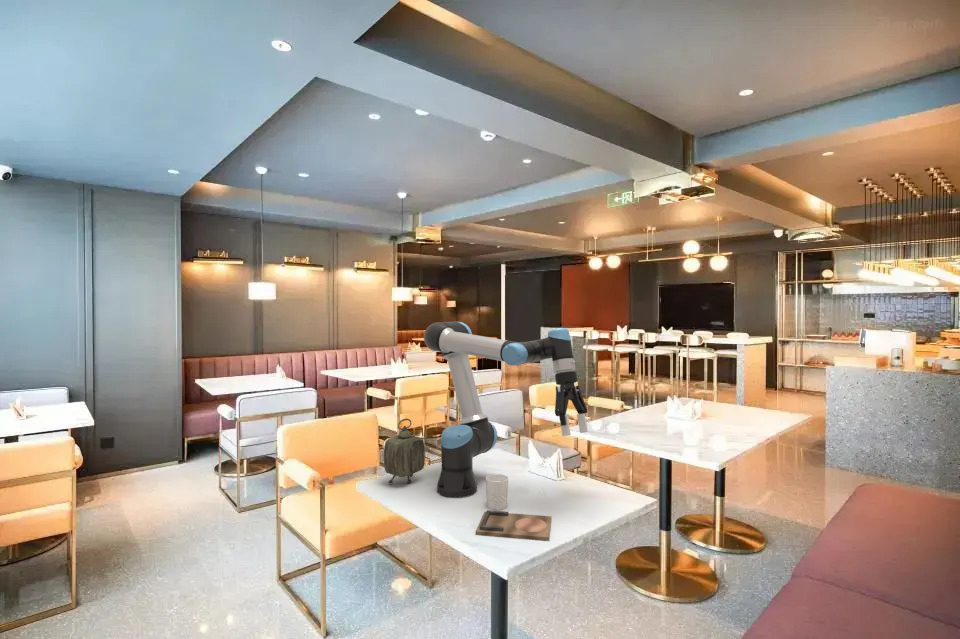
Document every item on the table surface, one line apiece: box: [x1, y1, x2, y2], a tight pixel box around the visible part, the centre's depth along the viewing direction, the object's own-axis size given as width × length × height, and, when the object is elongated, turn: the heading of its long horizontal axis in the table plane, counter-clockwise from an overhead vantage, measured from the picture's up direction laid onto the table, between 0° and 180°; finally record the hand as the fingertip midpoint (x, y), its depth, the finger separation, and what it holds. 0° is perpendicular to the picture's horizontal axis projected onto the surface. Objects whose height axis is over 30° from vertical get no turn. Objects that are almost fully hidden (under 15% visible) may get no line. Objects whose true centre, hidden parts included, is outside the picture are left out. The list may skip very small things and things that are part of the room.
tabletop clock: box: [383, 418, 426, 484], centre depth 196 cm, size 14×9×25 cm, turn 140°
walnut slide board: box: [475, 509, 552, 542], centre depth 156 cm, size 22×15×2 cm
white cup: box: [485, 473, 509, 511], centre depth 172 cm, size 8×8×10 cm
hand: (575, 434), depth 170 cm, fingers open, 13 cm apart
